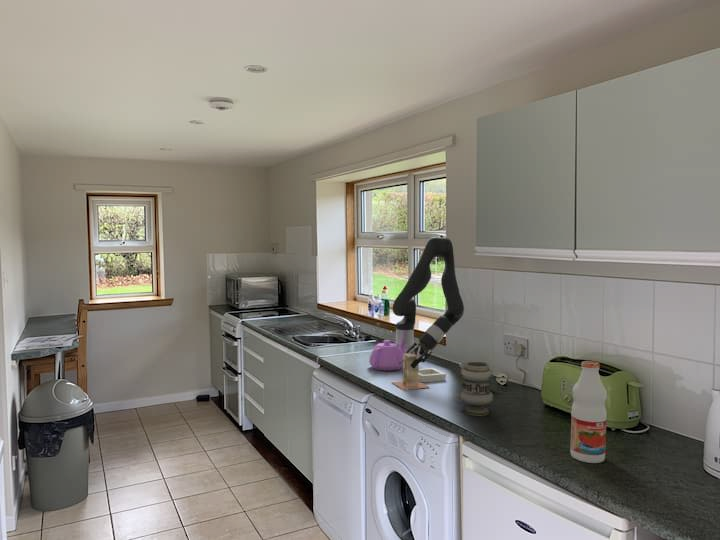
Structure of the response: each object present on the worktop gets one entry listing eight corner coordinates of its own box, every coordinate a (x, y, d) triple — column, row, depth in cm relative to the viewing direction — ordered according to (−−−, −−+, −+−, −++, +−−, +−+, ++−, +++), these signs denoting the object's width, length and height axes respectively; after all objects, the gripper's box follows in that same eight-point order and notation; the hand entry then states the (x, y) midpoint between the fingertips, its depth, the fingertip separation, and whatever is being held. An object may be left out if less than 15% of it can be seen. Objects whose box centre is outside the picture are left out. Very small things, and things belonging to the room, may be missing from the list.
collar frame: (410, 376, 251) (410, 369, 250) (433, 374, 255) (433, 367, 255) (421, 382, 239) (421, 375, 239) (445, 380, 243) (445, 373, 243)
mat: (392, 383, 238) (392, 382, 238) (416, 381, 242) (416, 380, 242) (403, 390, 226) (403, 389, 226) (429, 388, 231) (429, 386, 231)
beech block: (402, 383, 236) (403, 354, 235) (413, 382, 237) (413, 353, 237) (407, 386, 231) (408, 356, 230) (418, 385, 233) (418, 355, 232)
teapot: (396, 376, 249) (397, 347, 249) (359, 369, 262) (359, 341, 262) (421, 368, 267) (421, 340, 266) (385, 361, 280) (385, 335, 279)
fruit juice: (591, 450, 163) (595, 358, 162) (612, 462, 154) (615, 365, 153) (563, 452, 162) (566, 359, 160) (582, 465, 152) (585, 366, 151)
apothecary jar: (453, 408, 203) (454, 361, 202) (481, 405, 207) (482, 358, 206) (471, 418, 192) (472, 368, 191) (499, 414, 196) (501, 365, 195)
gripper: (419, 329, 242) (395, 356, 239) (434, 334, 229) (409, 362, 225) (429, 340, 244) (406, 367, 241) (445, 346, 231) (420, 374, 228)
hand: (407, 365), depth 233 cm, fingers open, 8 cm apart
